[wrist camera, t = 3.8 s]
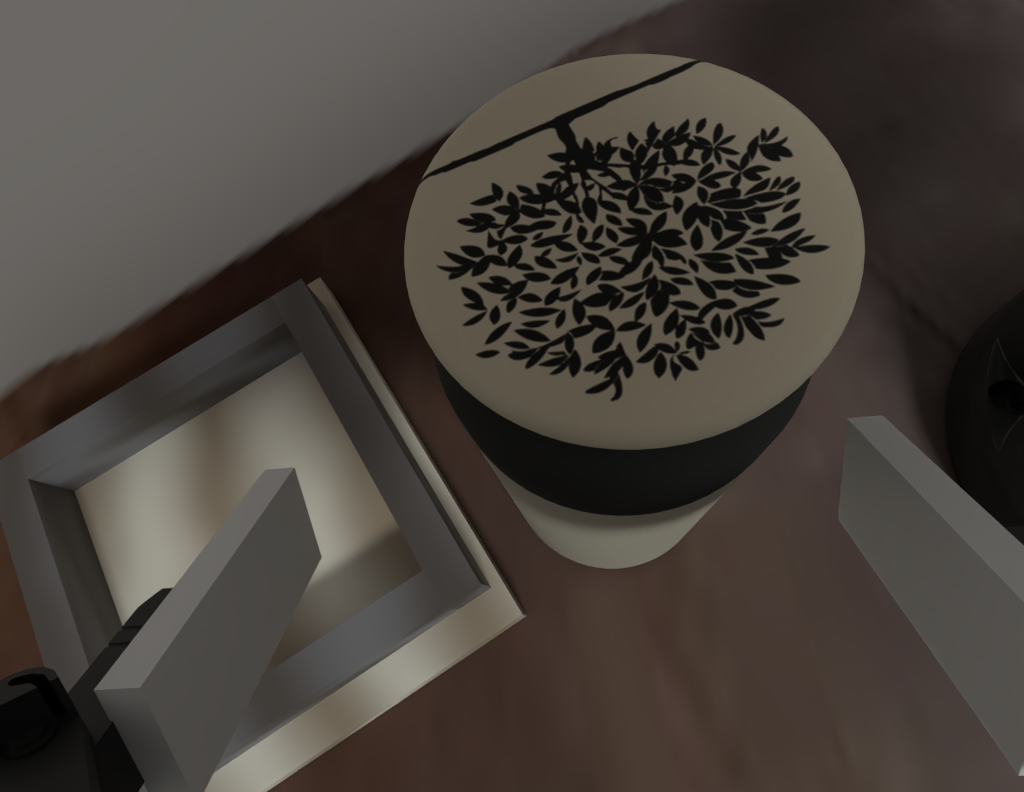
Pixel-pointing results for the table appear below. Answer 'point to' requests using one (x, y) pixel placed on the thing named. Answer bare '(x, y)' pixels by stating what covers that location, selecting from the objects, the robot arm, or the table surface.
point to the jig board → (215, 494)
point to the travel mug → (630, 289)
